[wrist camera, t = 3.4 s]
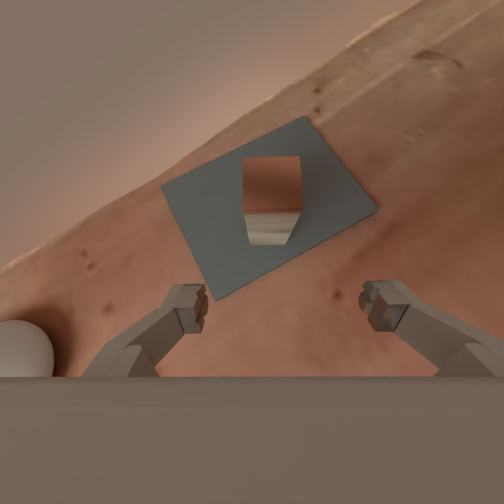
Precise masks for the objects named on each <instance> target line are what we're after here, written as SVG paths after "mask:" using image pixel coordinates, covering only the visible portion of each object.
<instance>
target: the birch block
mask: <svg viewBox="0 0 504 504" xmlns="http://www.w3.org/2000/svg"><path fill="white" fill-rule="evenodd" d="M303 208H304V204H303V192H302V181H301V169H300V158H299V156H284V157H259V158H243V212H244V217H245V222H246V227H247V233H248V238H249V243H250V245H284V244H286V242H287V240H288V238H289V236H290V234H291V232H292V230H293V228H294V226H295V224H296V222H297V220H298V218H299V216H300V214H301V212H302V210H303Z"/></svg>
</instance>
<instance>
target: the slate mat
mask: <svg viewBox="0 0 504 504" xmlns="http://www.w3.org/2000/svg"><path fill="white" fill-rule="evenodd" d="M284 156H299V158H300V169H301V181H302V192H303V204H304V208H303V210H302V212H301V214H300V216H299V218H298V220H297V222H296V224H295V226H294V228H293V230H292V232H291V234H290V236H289V238H288V240H287V242H286V244H284V245H250V243H249V238H248V233H247V227H246V222H245V217H244V212H243V158H259V157H284ZM160 187H161V189H162V191H163V193H164V195H165V197H166V199H167V201H168V204H169V206H170V208H171V210H172V212H173V214H174V216H175V218H176V220H177V222H178V224H179V226H180V229H181V231H182V233H183V235H184V237H185V239H186V241H187V243H188V245H189V247H190V249H191V251H192V253H193V256H194V258H195V260H196V262H197V264H198V266H199V268H200V270H201V272H202V274H203V276H204V278H205V281H206V283H207V285H208V287H209V289H210V291H211V293H212V295H213V297H214V299H215V301H218V300H220V299H221V298H223V297H225V296H227V295H229V294H230V293H232V292H234V291H236V290H238V289H239V288H241V287H243V286H245V285H246V284H248V283H250V282H252V281H254V280H255V279H257V278H259V277H261V276H263V275H264V274H266V273H268V272H270V271H272V270H273V269H275V268H277V267H279V266H281V265H282V264H284V263H286V262H288V261H289V260H291V259H293V258H295V257H297V256H298V255H300V254H302V253H304V252H306V251H307V250H309V249H311V248H313V247H315V246H316V245H318V244H320V243H322V242H323V241H325V240H327V239H329V238H331V237H332V236H334V235H336V234H338V233H340V232H341V231H343V230H345V229H347V228H349V227H350V226H352V225H354V224H356V223H358V222H359V221H361V220H363V219H365V218H366V217H368V216H370V215H372V214H374V213H375V212H377V211H378V210H379V208H378V207H377V206H376V205H375V203H374V202H373V201H372V200H371V198H370V197H369V196H368V195H367V193H366V192H365V191H364V190H363V188H362V187H361V186H360V185H359V183H358V182H357V181H356V180H355V178H354V177H353V176H352V175H351V173H350V172H349V171H348V170H347V168H346V167H345V166H344V165H343V163H342V162H341V161H340V160H339V158H338V157H337V156H336V155H335V153H334V152H333V151H332V150H331V148H330V147H329V146H328V145H327V143H326V142H325V141H324V140H323V138H322V137H321V136H320V135H319V133H318V132H317V131H316V130H315V128H314V127H313V126H312V125H311V123H310V122H309V121H308V120H307V118H306V117H305V116H302V117H300V118H298V119H296V120H294V121H292V122H290V123H288V124H286V125H284V126H282V127H280V128H278V129H276V130H274V131H272V132H270V133H268V134H266V135H264V136H262V137H260V138H258V139H255V140H253V141H251V142H249V143H247V144H245V145H243V146H241V147H239V148H237V149H235V150H233V151H231V152H229V153H227V154H225V155H223V156H221V157H219V158H217V159H215V160H213V161H211V162H209V163H207V164H204V165H202V166H200V167H198V168H196V169H194V170H192V171H190V172H188V173H186V174H184V175H182V176H180V177H178V178H176V179H174V180H172V181H170V182H168V183H166V184H164V185H162V186H160Z"/></svg>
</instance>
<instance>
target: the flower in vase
mask: <svg viewBox="0 0 504 504" xmlns="http://www.w3.org/2000/svg"><path fill="white" fill-rule="evenodd" d="M53 369H54V351H53V347H52V343H51V341H50V339H49V337H48V336H47V334H46V333H45V332H44V331H43V330H42V329H40V328H39V327H37V326H36V325H34V324H32V323H30V322H27V321H22V320H10V321H4V322H1V323H0V377H52V374H53Z"/></svg>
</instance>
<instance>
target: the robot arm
mask: <svg viewBox="0 0 504 504" xmlns="http://www.w3.org/2000/svg"><path fill="white" fill-rule="evenodd" d="M363 289H364V291H363V292H361V293H360V295H359V298H358V300H359V306H360V308H361V310H362V312H363V313H365V314H366V315H368V319H367V320H368V321H369V323H370V325H371V326H372V328H373V329H374V331H375V332H394V334H396V335H397V336H398V337H400V338H401V339H402V340H403V341H405V342H406V343H407V344H409V345H410V346H411V347H412V348H414V349H415V350H416V351H417V352H419V353H420V354H421V355H423V356H424V357H425V358H426V359H428V360H429V361H430V362H432V363H433V364H434V365H435V366H437V367H438V368H439V369H440V370H439V371H438V372H437V373H436V374H435V375H434V377H160V376H159V374H158V373H157V371H156V370H155V368H154V367H155V366H156V365H157V364H158V363H159V362H160V361H161V360H162V359H163V357H164V356H165V355H166V354H167V353H168V352H169V351H170V350H171V349H172V348H173V347H174V345H175V344H176V343H177V342H178V341H179V340H180V339H181V338H182V337H183V336H184V334H193V333H201V332H202V329H203V325H204V322H205V321H204V316H205V315H206V314H207V311H208V297H207V295H205V291H206V288H205V285H204V284H175V285H173V286H172V288H171V290H170V291H169V293H168V295H167V297H166V298H165V300H164V302H163V304H162V305H161V307H160V308H157V309H155V310H154V311H152V312H151V313H150V314H148V315H147V316H145V317H144V318H142V319H141V320H139V321H138V322H137V323H135V324H134V325H132V326H131V327H129V328H128V329H126V330H125V331H124V332H122V333H121V334H119V335H118V336H116V337H115V338H113V339H112V340H111V341H109V342H108V343H106V344H105V345H104V346H103V348H102V349H101V351H100V352H99V353H98V355H97V356H96V357H95V359H94V360H93V361H92V363H91V364H90V365H89V367H88V368H87V369H86V371H85V372H84V373H83V375H82V376H81V377H0V504H504V340H502V339H500V338H497V337H495V336H493V335H491V334H489V333H487V332H485V331H483V330H481V329H479V328H477V327H475V326H473V325H471V324H468V323H466V322H464V321H462V320H460V319H458V318H456V317H454V316H452V315H450V314H448V313H446V312H444V311H442V310H439V309H437V308H435V307H433V306H431V305H426V304H425V303H423V302H422V301H421V300H420V299H419V298H418V297H417V296H416V295H415V294H414V293H413V292H412V291H411V290H410V289H409V288H408V287H407V286H406V285H405V284H404V283H403V282H401V281H399V280H387V281H366V282H365V283H364V284H363Z"/></svg>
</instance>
